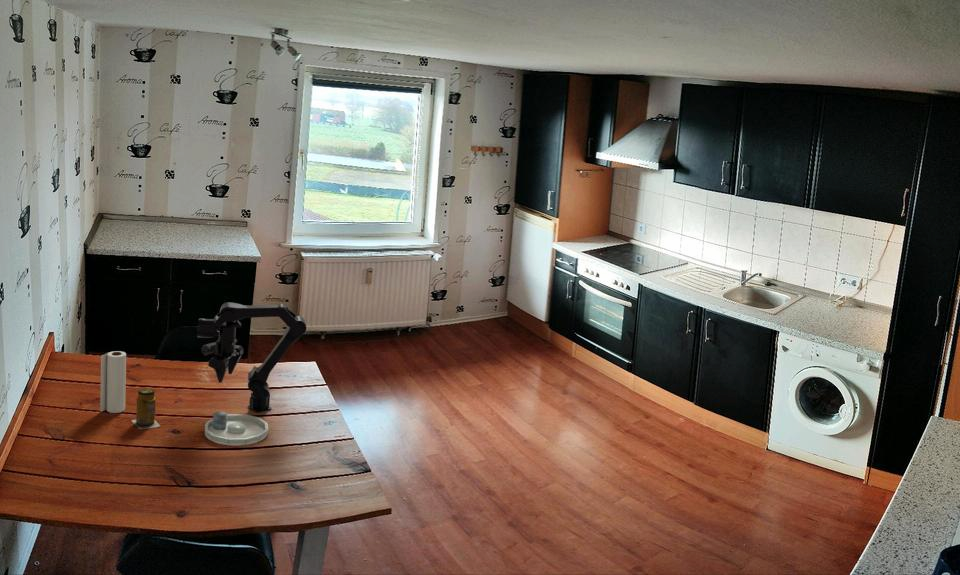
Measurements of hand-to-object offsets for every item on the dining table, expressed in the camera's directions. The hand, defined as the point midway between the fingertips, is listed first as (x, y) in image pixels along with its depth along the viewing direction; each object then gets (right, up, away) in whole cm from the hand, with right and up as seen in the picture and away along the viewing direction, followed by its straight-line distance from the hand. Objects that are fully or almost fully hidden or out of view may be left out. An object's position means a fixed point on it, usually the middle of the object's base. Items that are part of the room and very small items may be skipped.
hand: (225, 378), depth 305 cm
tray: (+9, -17, -15) cm, 25 cm away
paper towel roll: (-36, -10, -10) cm, 39 cm away
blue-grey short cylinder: (+3, -16, -15) cm, 22 cm away
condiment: (-22, -14, -17) cm, 31 cm away
